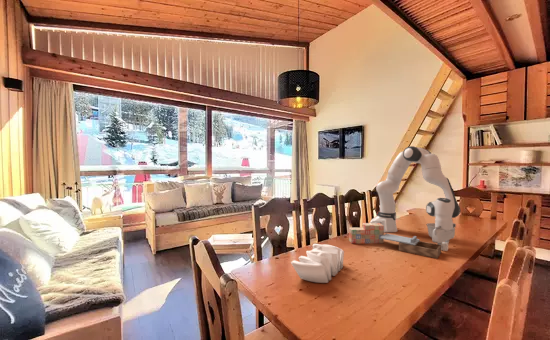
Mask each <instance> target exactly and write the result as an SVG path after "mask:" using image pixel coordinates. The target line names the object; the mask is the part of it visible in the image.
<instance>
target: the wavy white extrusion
mask: <svg viewBox="0 0 550 340" xmlns="http://www.w3.org/2000/svg"><path fill="white" fill-rule="evenodd" d="M311 247H312V249H311V250H306V252H305V253H306V256H305V255H300V256H299V257H298V260H299V261H298V260H292V261H290V263H291V265H292V267H293V269H294V270H295V272H296V274H297V275H298V277H299V278H300V279H302V280H304V281H307V282H312V283H321V284H326V283H329V281H331V280H332V277H335V276H336V275H337V274H338V273H339V272H340V271H341V270H342V269H343V267H344V256H345V251H344V250H343V249H342V248H340V247H339V246H338V247H337V246H336V245H335V246H334V245H331V244H320V243H313V244H312V246H311Z"/></svg>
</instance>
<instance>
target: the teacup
mask: <svg viewBox="0 0 550 340" xmlns="http://www.w3.org/2000/svg"><path fill="white" fill-rule="evenodd" d="M426 226H427V232H428V233H427V235H428V236H429V237H430V238H431V239H432V236H433V230H434V229H435V228H436V227H435V222H433V223H432V222H429V223H426Z"/></svg>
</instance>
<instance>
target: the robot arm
mask: <svg viewBox="0 0 550 340" xmlns="http://www.w3.org/2000/svg"><path fill="white" fill-rule="evenodd" d="M412 163H414V164H419V165H420V167H421V175H422V178H423V180H424V181H426V182H427V183H429V184H430V185H431V184H432V185H433V186H434V185H435V186H436V187H437V186H438V188H440V189H441V190H442V192H443V194H444V197H438V198H436V200H434V201H429V202H428V203H427V204H426V205H425V211H426V212H425V213H427V215H429V216H430V217H434V218H435V219H434V223H435V227H436V228H435V229H434V230H433V236H432V238H431V239H432V240H431V241H432V243H434V244H438V245H441V249H443V246H442V242H447V243H448V244H449V242H450V240H451V239H454V237H455V236H456V235H455V234H456V226H457V223H455V222H453V221H454V220H453V219H454V218H455V219H456V218H457V217H458V216H459V215H460V213H461V207H460V205H459V203H458V201H457V198H456V196H455V193H454V189H453V187H452V184H451V181H450V180H449V178H448V177H446V176H445V175H444V173H443V171H442V166H441V162H440V159H439V156H438V155H437V154H434V153H431V151H429V150H428V149H425V148H423V147H417V146H413V145H412V146H410V145H409V146H407V147H405V148H404V149H403V151H400V152H399V153H398V154H397V156H396V157H395V158H394V160H393V161H392V164H391V165H390V167H389V168H388V170H387V175H386V179H385V180H382V181H380V182H378V183H377V184H376V187H375V190H376V193H377V195H378V197H379V198H378V199H379V210H378V211H377V212H376V214H377V215H376V216H375V217H373V218H372V219H371V220H370V222H369V223H380V224H382V225H384V233H396V232H398V227H397V221H396V220H397V212H396V201H395V199H394V194H395V193H396V192H398V190H399V189H400V184H402V183H401V182H402V180H403V177H404V176H405V174H406V172H407V170H408V168H409V167H410V165H411V164H412Z"/></svg>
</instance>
